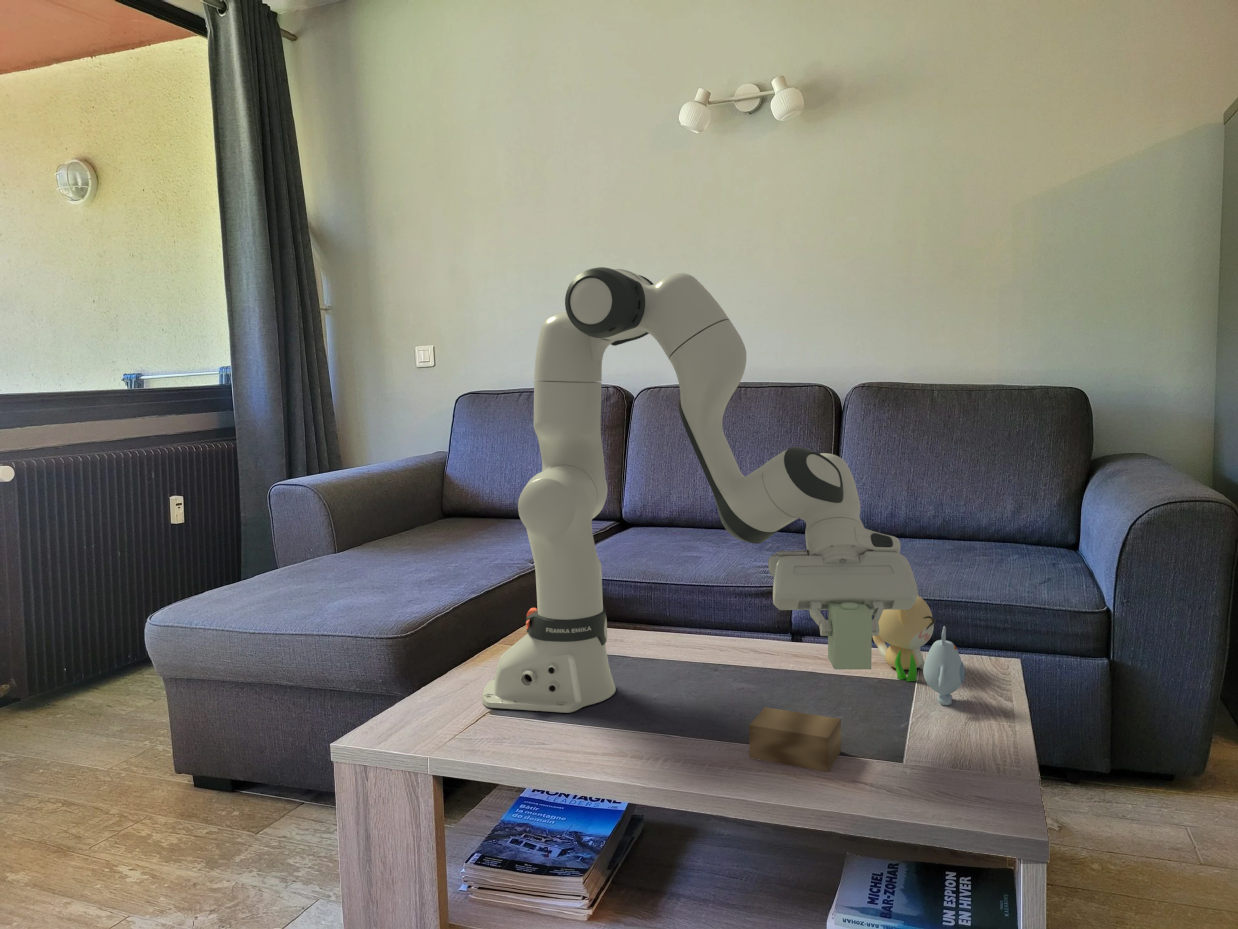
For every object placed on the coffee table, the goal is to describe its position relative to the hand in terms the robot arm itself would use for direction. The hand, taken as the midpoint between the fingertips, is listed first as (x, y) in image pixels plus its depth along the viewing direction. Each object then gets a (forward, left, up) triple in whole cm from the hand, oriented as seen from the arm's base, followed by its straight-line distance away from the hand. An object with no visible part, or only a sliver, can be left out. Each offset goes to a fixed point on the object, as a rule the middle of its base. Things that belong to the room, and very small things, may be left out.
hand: (850, 634), depth 123 cm
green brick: (0, +1, -4) cm, 4 cm away
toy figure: (+18, +17, -17) cm, 30 cm away
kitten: (+16, +33, -17) cm, 41 cm away
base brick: (-8, -2, -17) cm, 19 cm away
